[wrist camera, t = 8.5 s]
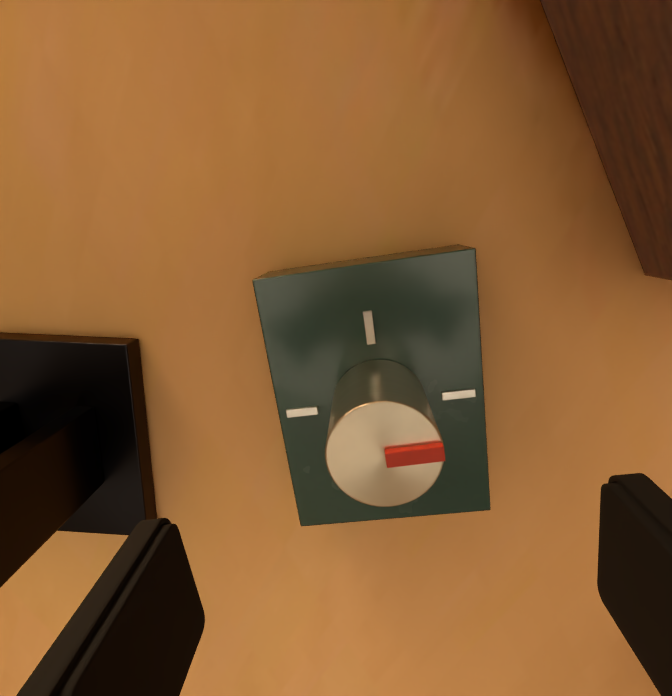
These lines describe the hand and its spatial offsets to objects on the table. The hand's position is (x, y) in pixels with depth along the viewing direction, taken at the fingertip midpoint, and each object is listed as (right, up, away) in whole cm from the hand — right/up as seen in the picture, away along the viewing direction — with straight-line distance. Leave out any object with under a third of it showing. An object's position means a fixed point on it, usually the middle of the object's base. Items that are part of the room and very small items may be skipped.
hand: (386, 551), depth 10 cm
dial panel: (+1, +3, +12) cm, 13 cm away
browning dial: (+1, +2, +9) cm, 9 cm away
